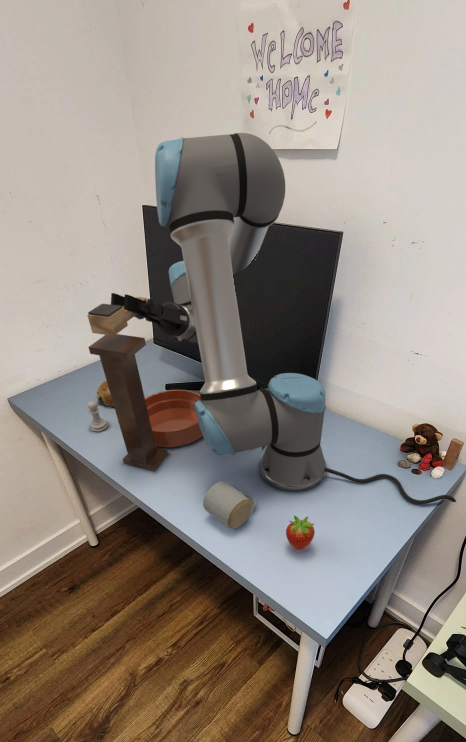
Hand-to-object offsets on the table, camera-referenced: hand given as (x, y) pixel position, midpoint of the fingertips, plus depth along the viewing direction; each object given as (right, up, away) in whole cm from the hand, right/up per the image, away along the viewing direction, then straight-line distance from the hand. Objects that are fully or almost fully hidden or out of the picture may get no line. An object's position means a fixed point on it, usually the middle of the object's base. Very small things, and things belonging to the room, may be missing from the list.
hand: (119, 301), depth 83 cm
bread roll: (-13, -9, +45) cm, 48 cm away
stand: (0, -29, +24) cm, 37 cm away
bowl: (+6, -19, +33) cm, 39 cm away
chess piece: (-15, -19, +35) cm, 43 cm away
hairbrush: (0, -2, +3) cm, 4 cm away
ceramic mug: (+22, -42, +9) cm, 49 cm away
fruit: (+36, -49, +1) cm, 60 cm away
